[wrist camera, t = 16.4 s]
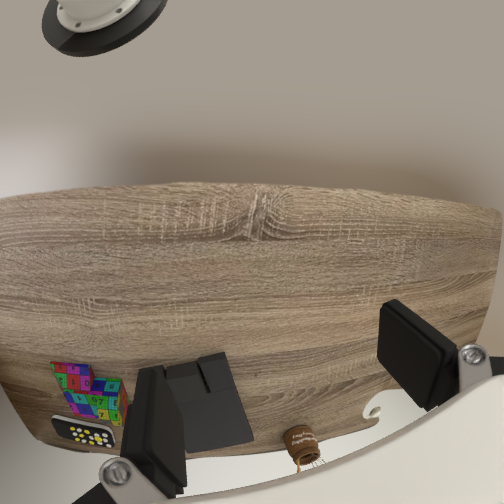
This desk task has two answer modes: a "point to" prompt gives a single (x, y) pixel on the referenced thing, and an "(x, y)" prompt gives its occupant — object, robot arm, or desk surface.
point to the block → (92, 393)
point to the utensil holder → (302, 445)
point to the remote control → (83, 431)
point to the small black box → (186, 382)
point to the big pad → (213, 409)
